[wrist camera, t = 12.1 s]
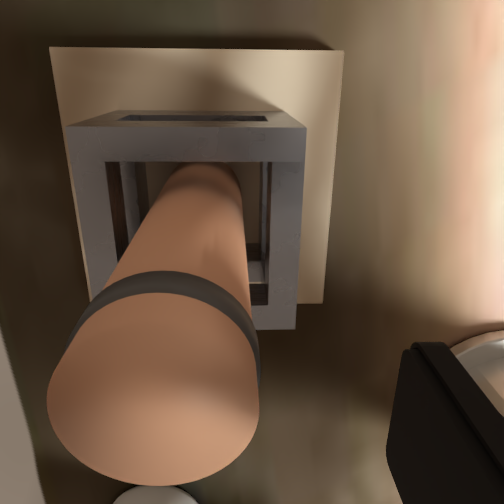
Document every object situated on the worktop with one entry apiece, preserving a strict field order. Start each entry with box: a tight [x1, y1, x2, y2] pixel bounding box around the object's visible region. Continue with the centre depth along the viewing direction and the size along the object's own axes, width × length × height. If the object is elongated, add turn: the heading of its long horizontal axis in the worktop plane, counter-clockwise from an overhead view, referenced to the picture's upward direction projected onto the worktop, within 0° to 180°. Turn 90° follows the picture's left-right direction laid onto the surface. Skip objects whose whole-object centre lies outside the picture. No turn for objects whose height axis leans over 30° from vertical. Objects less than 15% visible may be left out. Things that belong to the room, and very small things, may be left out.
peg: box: [47, 162, 261, 486], centre depth 15 cm, size 4×4×16 cm
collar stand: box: [49, 47, 344, 330], centre depth 20 cm, size 14×14×8 cm
